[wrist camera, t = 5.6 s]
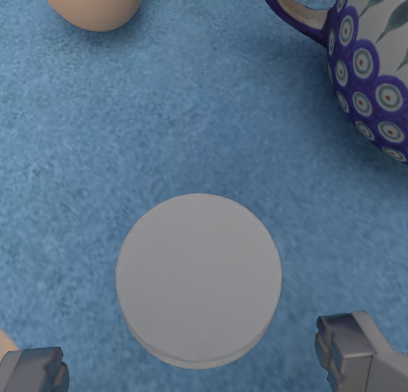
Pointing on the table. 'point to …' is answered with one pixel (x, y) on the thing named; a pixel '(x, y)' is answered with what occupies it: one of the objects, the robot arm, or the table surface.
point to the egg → (96, 12)
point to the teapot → (363, 63)
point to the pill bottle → (198, 280)
